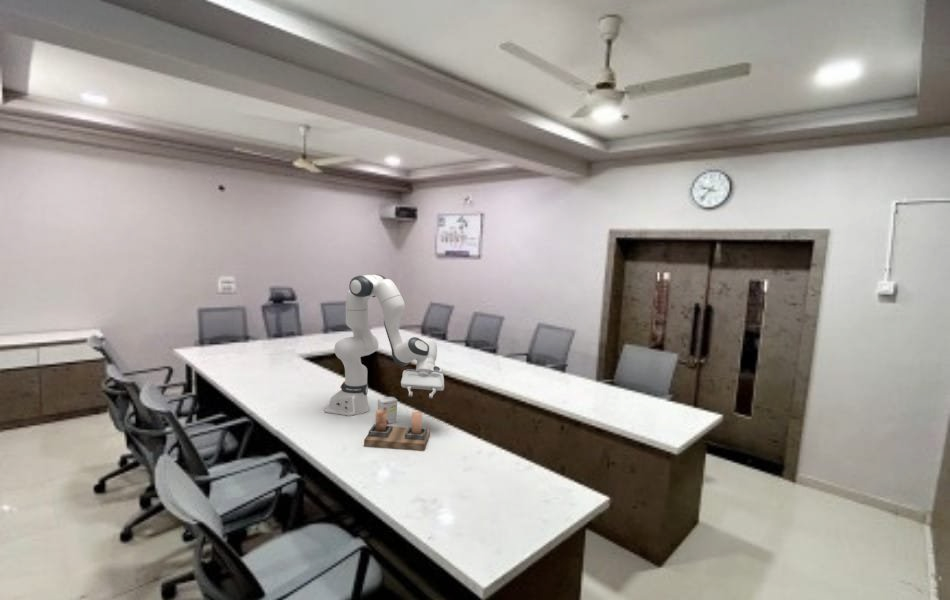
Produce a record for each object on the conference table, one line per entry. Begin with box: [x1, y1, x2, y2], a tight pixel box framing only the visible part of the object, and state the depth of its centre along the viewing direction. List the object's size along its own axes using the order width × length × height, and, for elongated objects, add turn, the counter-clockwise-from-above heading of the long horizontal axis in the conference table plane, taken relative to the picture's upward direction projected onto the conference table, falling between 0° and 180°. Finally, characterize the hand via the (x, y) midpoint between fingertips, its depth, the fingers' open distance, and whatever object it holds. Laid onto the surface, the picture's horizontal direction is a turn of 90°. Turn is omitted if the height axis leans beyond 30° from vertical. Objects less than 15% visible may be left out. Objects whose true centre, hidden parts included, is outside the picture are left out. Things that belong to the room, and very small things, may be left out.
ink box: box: [376, 396, 398, 425], centre depth 220 cm, size 9×5×12 cm, turn 127°
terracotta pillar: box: [410, 411, 423, 435], centre depth 200 cm, size 5×5×10 cm
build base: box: [363, 409, 431, 452], centre depth 200 cm, size 26×16×13 cm, turn 87°
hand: (420, 396), depth 207 cm, fingers open, 8 cm apart
